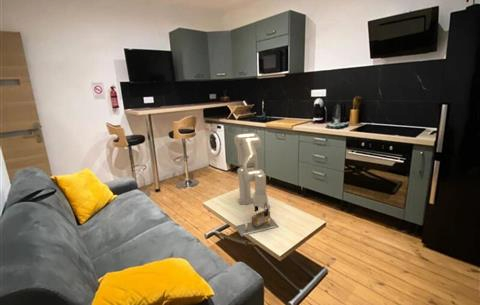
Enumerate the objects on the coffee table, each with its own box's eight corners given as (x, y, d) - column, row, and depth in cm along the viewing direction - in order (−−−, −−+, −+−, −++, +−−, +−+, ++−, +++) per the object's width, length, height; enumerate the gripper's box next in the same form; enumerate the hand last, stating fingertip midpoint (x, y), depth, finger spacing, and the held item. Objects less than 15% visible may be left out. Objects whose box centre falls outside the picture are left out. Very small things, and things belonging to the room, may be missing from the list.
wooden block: (252, 226, 168) (251, 216, 165) (266, 218, 176) (266, 209, 174) (255, 228, 165) (255, 218, 162) (270, 221, 173) (270, 211, 171)
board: (235, 227, 169) (234, 219, 168) (271, 219, 178) (271, 211, 176) (241, 238, 157) (241, 229, 156) (279, 228, 166) (279, 220, 164)
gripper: (248, 188, 167) (249, 210, 172) (265, 196, 154) (266, 220, 158) (256, 185, 172) (256, 207, 176) (273, 193, 159) (274, 216, 163)
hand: (261, 213), depth 167 cm, fingers open, 9 cm apart
